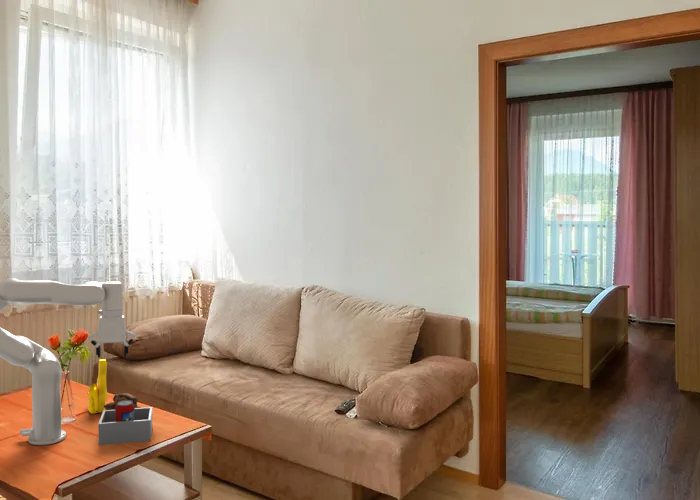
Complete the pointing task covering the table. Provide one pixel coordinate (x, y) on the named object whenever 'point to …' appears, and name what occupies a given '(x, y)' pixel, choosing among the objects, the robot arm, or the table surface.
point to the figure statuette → (98, 390)
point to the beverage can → (124, 411)
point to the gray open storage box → (125, 427)
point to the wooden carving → (120, 398)
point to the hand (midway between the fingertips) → (112, 356)
